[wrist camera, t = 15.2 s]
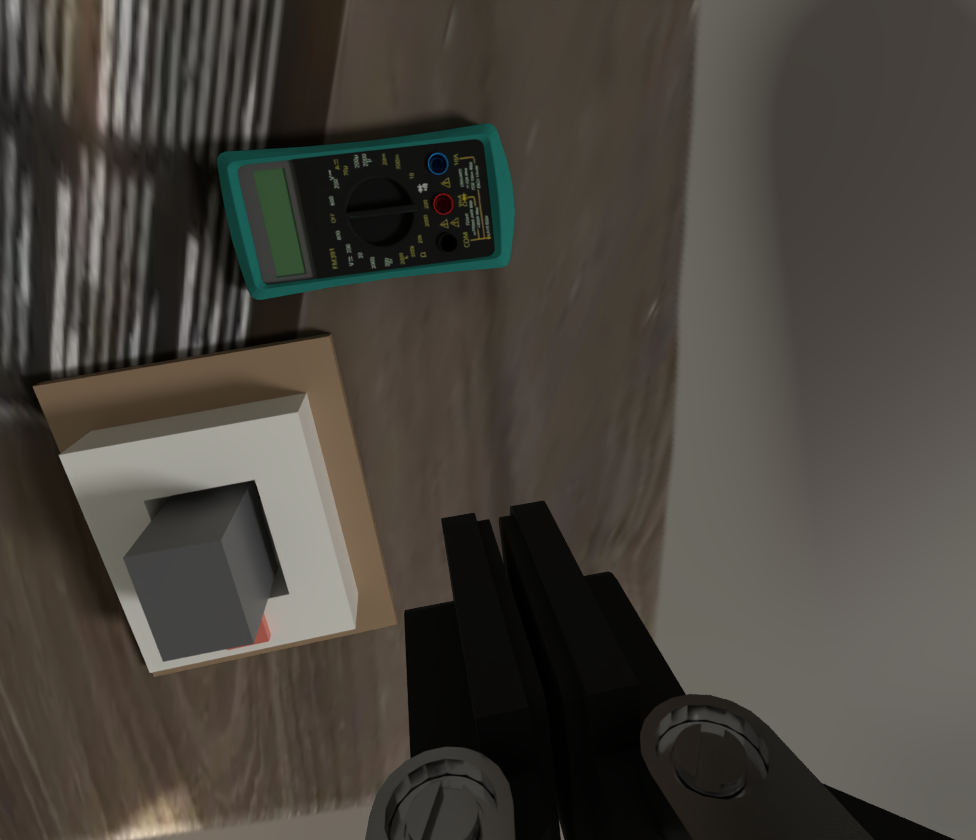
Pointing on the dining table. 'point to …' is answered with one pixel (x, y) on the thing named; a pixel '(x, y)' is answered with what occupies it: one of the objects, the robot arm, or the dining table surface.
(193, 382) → the socket
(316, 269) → the digital multimeter
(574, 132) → the dining table surface
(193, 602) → the plug
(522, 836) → the robot arm
